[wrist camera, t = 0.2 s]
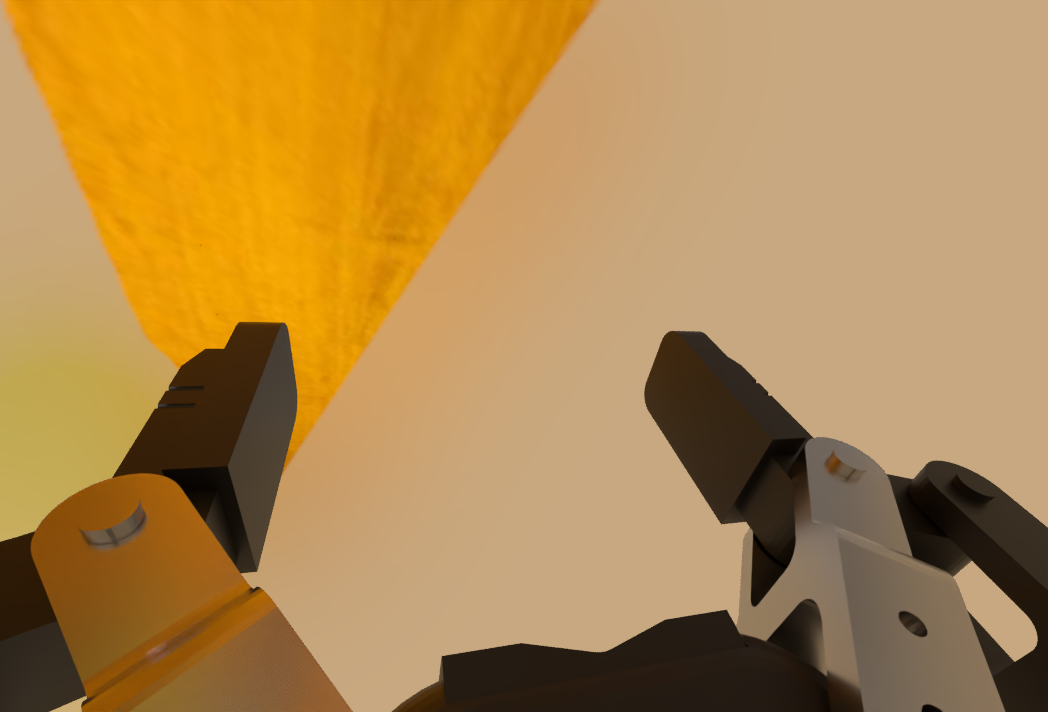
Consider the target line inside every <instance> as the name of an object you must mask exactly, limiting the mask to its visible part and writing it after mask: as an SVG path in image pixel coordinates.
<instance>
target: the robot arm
mask: <svg viewBox="0 0 1048 712" xmlns="http://www.w3.org/2000/svg"><path fill="white" fill-rule="evenodd" d="M644 393H645V395H644V396H645V403H646V406H647V409H648V411H649V412H650V414H651V415H652V417H653V419H654V420H655V422H656V423H657V425H658V426H659V428H660V430H661V431H662V433H663V434H664V436H665V437H666V439H667V440H668V442H669V444H670V445H671V447H672V448H673V450H674V451H675V453H676V454H677V456H678V458H679V459H680V461H681V462H682V464H683V465H684V467H685V469H686V470H687V472H688V473H689V475H690V476H691V478H692V479H693V481H694V482H695V484H696V486H697V487H698V489H699V490H700V492H701V493H702V495H703V496H704V498H705V500H706V501H707V502H708V504H709V506H710V507H711V509H712V511H713V512H714V514H715V515H716V517H717V518H718V520H719V521H720V523H721V524H728V523H738V522H747V524H748V525H749V526H750V528H749V530H748V531H747V533H746V534H745V536H744V540H743V552H742V570H741V587H740V604H739V617H738V622H737V626H735V624H734V622H733V620H732V619H731V617H730V615H729V613H728V611H727V610H722V611H716V612H710V613H704V614H698V615H692V616H686V617H680V618H673V619H667V620H664V621H662V622H660V623H658V624H657V625H655V626H653V627H651V628H649V629H647V630H646V631H644V632H642V633H640V634H638V635H637V636H635V637H633V638H631V639H629V640H627V641H625V642H624V643H622V644H620V645H618V646H616V647H615V648H613V649H611V650H608V651H606V652H588V651H580V650H571V649H564V648H555V647H548V646H539V645H530V644H523V643H520V644H514V645H508V646H502V647H495V648H489V649H484V650H478V651H471V652H465V653H459V654H452V655H446V656H442V659H441V667H440V676H439V681H438V682H436V683H434V684H432V685H430V686H429V687H427V688H424V689H423V690H421V691H419V692H418V693H416V694H415V695H413V696H412V697H410V698H409V699H407V700H406V701H404V702H403V703H402V704H400V705H399V706H398V707H397V708H396V709H394V710H393V711H392V712H1048V528H1047V527H1046V526H1045V525H1044V524H1043V523H1041V522H1040V521H1039V520H1038V519H1036V518H1035V517H1034V516H1033V515H1032V514H1030V513H1029V512H1028V511H1027V510H1025V509H1024V508H1023V507H1022V506H1020V505H1019V504H1018V503H1017V502H1016V501H1014V500H1013V499H1012V498H1011V497H1010V496H1008V495H1007V494H1006V493H1005V492H1003V491H1002V490H1001V489H1000V488H998V487H997V486H996V485H994V484H993V483H991V482H990V481H989V480H987V479H985V478H984V477H982V476H980V475H979V474H977V473H975V472H973V471H971V470H969V469H967V468H964V467H961V466H959V465H956V464H953V463H949V462H945V461H932V462H929V463H928V464H926V466H925V467H924V468H923V469H922V470H921V471H920V472H919V473H918V475H917V476H916V477H915V478H914V479H908V478H903V477H899V476H894V475H888V474H886V473H885V471H884V470H883V469H882V468H881V467H880V466H879V465H878V464H877V463H876V462H875V461H874V460H873V459H871V458H870V457H869V456H868V455H866V454H865V453H863V452H862V451H860V450H858V449H857V448H855V447H853V446H851V445H848V444H846V443H844V442H842V441H838V440H835V439H831V438H825V437H816V438H813V437H812V436H811V435H810V434H809V433H808V432H807V431H806V430H805V429H804V428H803V427H802V426H801V425H800V424H799V423H798V422H797V421H796V420H795V419H794V418H793V417H792V416H791V415H790V414H789V413H788V412H787V411H786V410H785V409H784V408H783V407H782V406H781V405H780V404H779V403H778V402H777V401H776V400H775V399H774V398H773V397H772V396H768V392H767V391H766V390H765V389H764V388H763V387H762V386H761V385H760V384H759V383H756V380H755V379H754V378H753V377H752V376H751V375H750V374H749V373H748V372H747V371H746V370H745V369H744V368H743V367H742V366H741V365H740V364H738V363H737V362H735V361H734V360H732V359H730V358H729V357H727V356H726V355H725V354H724V353H723V352H722V351H721V350H720V349H719V348H718V346H716V344H715V343H714V342H712V340H710V338H709V337H708V336H707V335H706V334H704V333H703V332H694V331H670V332H668V333H667V334H666V335H665V336H664V337H663V339H662V342H661V344H660V347H659V350H658V352H657V355H656V358H655V361H654V363H653V366H652V369H651V371H650V374H649V377H648V379H647V382H646V386H645V392H644ZM296 412H297V388H296V381H295V374H294V367H293V360H292V353H291V346H290V339H289V333H288V328H287V326H286V324H285V323H270V322H239V323H238V324H237V326H236V327H235V329H234V331H233V333H232V335H231V337H230V339H229V341H228V343H227V345H226V346H225V348H224V349H205V350H203V351H202V352H200V353H199V354H198V355H196V356H195V357H193V358H192V359H191V360H189V361H188V362H186V363H185V364H184V365H182V366H181V368H180V369H179V371H178V372H177V374H176V376H175V377H174V379H173V380H172V382H171V384H170V385H169V391H166V392H165V393H164V395H163V397H162V398H161V400H160V401H159V403H158V409H154V411H153V413H152V414H151V416H150V418H149V419H148V421H147V422H146V424H145V426H144V427H143V429H142V431H141V432H140V434H139V435H138V437H137V439H136V440H135V442H134V444H133V445H132V447H131V448H130V450H129V452H128V453H127V455H126V456H125V458H124V460H123V461H122V463H121V465H120V466H119V468H118V469H117V471H116V472H115V474H114V476H113V477H112V478H111V479H107V480H104V481H101V482H99V483H96V484H93V485H91V486H89V487H87V488H85V489H83V490H81V491H79V492H77V493H76V494H74V495H72V496H70V497H69V498H67V499H66V500H64V501H63V502H62V503H60V504H59V505H58V506H57V507H55V508H54V509H53V510H52V511H51V512H50V513H49V514H48V515H47V516H46V517H45V518H44V519H43V520H42V522H41V523H40V525H39V526H38V528H37V529H36V531H35V532H31V533H28V534H25V535H22V536H19V537H16V538H12V539H9V540H5V541H2V542H0V712H49V711H52V710H54V709H56V708H58V707H61V706H63V705H65V704H68V703H70V702H72V701H75V700H77V699H80V698H82V697H84V696H87V699H86V700H85V701H83V702H82V705H81V708H82V712H353V711H352V710H351V709H350V707H349V706H348V704H346V702H345V700H344V699H343V698H342V696H341V695H340V693H339V692H338V691H337V689H336V688H335V686H334V685H333V684H332V682H331V681H330V680H329V678H328V677H327V675H326V674H325V673H324V671H323V670H322V668H321V667H320V666H319V664H318V663H317V661H316V660H315V659H314V657H313V656H312V654H311V653H310V652H309V650H308V649H307V647H306V646H305V645H304V643H303V642H302V640H301V639H300V638H299V636H298V635H297V634H296V632H295V631H294V629H293V628H292V627H291V625H290V624H289V622H288V621H287V620H286V618H285V617H284V615H283V614H282V613H281V611H280V610H279V608H278V607H277V606H276V604H275V603H274V602H273V601H272V599H271V598H270V597H269V596H268V594H267V593H266V592H265V591H264V590H263V589H261V588H260V587H256V588H254V589H253V588H251V587H250V585H249V584H248V583H247V582H246V580H245V579H244V578H243V576H242V575H241V573H248V572H257V570H258V566H259V562H260V558H261V554H262V550H263V546H264V542H265V538H266V534H267V530H268V526H269V522H270V518H271V514H272V510H273V506H274V502H275V498H276V494H277V491H278V486H279V483H280V479H281V475H282V471H283V467H284V463H285V459H286V455H287V451H288V447H289V443H290V439H291V435H292V431H293V427H294V423H295V419H296ZM971 561H973V562H974V563H975V564H976V565H977V566H978V567H979V568H980V569H981V570H982V571H983V572H984V573H985V574H986V575H987V576H988V577H989V578H990V579H991V580H992V581H993V582H994V583H995V584H996V585H997V586H998V587H999V588H1000V589H1001V590H1002V591H1003V592H1004V593H1005V594H1006V595H1007V596H1008V597H1009V598H1010V599H1011V600H1012V601H1013V602H1015V604H1016V605H1017V606H1018V607H1019V608H1020V609H1021V610H1022V611H1023V612H1024V613H1025V614H1026V615H1027V616H1028V617H1029V618H1030V620H1031V621H1032V623H1033V625H1034V626H1035V629H1036V631H1037V636H1038V642H1037V646H1036V647H1035V649H1034V650H1033V651H1031V652H1030V653H1028V654H1027V655H1025V656H1024V657H1022V658H1021V659H1019V660H1017V661H1016V662H1014V661H1013V660H1012V659H1011V658H1010V657H1009V655H1008V654H1007V653H1006V652H1005V651H1004V650H1003V649H1002V648H1001V647H1000V646H999V645H998V643H996V641H995V640H994V639H993V638H992V637H991V636H990V635H989V634H988V632H987V631H986V630H985V629H984V628H983V627H982V626H981V625H980V624H979V623H978V622H977V620H976V619H975V618H974V617H973V616H972V615H971V614H970V613H969V612H968V611H967V609H966V606H965V603H964V601H963V598H962V595H961V593H960V590H959V588H958V585H957V583H956V581H955V580H954V578H953V576H955V575H956V574H957V573H958V572H959V571H960V570H961V569H963V568H964V567H965V566H966V565H967V564H968V563H970V562H971Z"/></svg>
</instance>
